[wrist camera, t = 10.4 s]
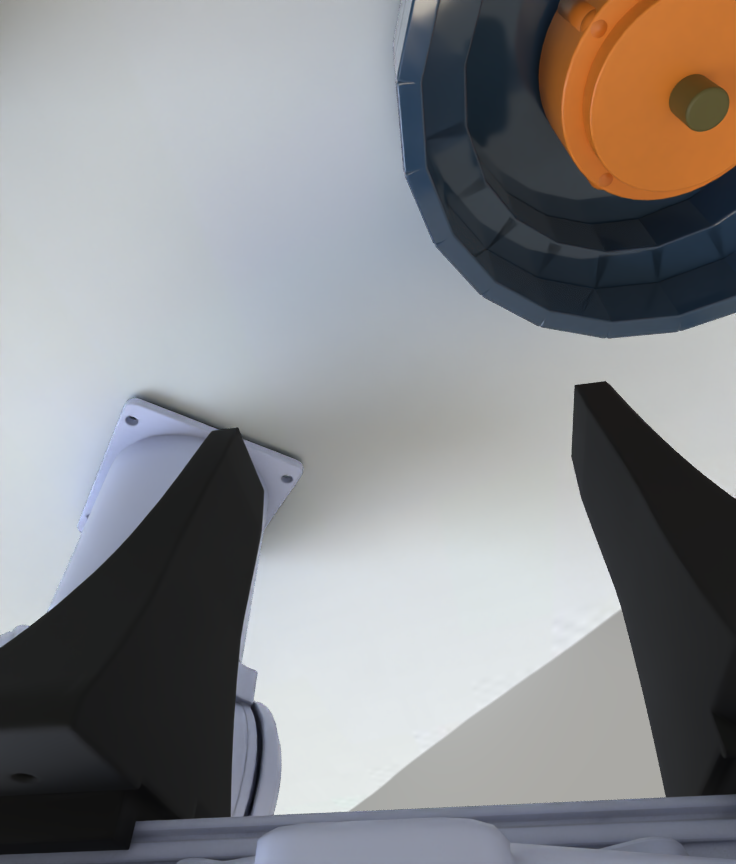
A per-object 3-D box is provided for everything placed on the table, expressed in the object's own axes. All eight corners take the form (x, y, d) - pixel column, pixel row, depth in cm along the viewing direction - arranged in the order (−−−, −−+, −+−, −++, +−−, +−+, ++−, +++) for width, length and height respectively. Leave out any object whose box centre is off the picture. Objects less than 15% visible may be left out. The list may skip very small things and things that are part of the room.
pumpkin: (636, 191, 20) (699, 273, 16) (490, 96, 18) (521, 162, 15) (791, 6, 17) (917, 52, 13) (632, -131, 15) (721, -126, 11)
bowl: (635, 324, 24) (676, 400, 21) (315, 144, 20) (303, 202, 17) (1015, -67, 16) (1180, -47, 13) (621, -496, 12) (714, -628, 9)
